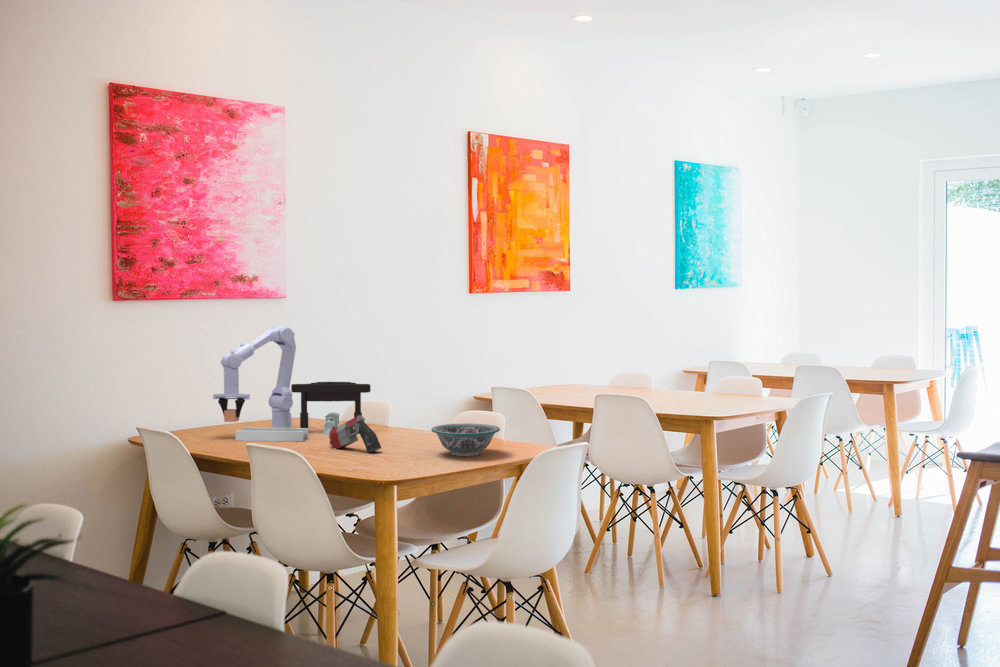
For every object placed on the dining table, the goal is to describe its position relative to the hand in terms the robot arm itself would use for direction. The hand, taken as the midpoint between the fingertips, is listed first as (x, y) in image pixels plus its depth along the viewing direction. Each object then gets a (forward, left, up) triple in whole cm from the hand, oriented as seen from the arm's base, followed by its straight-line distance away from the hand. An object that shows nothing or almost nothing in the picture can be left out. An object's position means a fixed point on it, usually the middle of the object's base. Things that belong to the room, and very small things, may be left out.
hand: (231, 417), depth 389 cm
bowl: (+30, +98, -9) cm, 103 cm away
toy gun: (+24, +55, -9) cm, 61 cm away
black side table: (-17, +36, -9) cm, 41 cm away
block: (0, +2, +1) cm, 2 cm away
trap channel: (+3, +17, -8) cm, 19 cm away
